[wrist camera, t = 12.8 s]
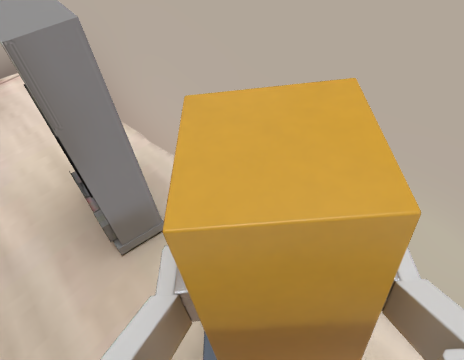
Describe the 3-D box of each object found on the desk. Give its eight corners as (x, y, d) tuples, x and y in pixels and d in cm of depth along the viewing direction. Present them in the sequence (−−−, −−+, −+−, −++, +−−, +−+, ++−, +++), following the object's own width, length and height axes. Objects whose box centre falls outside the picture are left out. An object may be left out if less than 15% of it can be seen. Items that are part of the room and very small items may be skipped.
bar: (236, 406, 13) (161, 232, 6) (235, 304, 16) (183, 95, 8) (344, 402, 13) (423, 212, 5) (323, 299, 16) (356, 76, 8)
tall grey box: (81, 190, 49) (-37, -1, 31) (121, 169, 51) (33, -21, 33) (120, 257, 41) (-11, 47, 23) (166, 229, 43) (80, 16, 25)
